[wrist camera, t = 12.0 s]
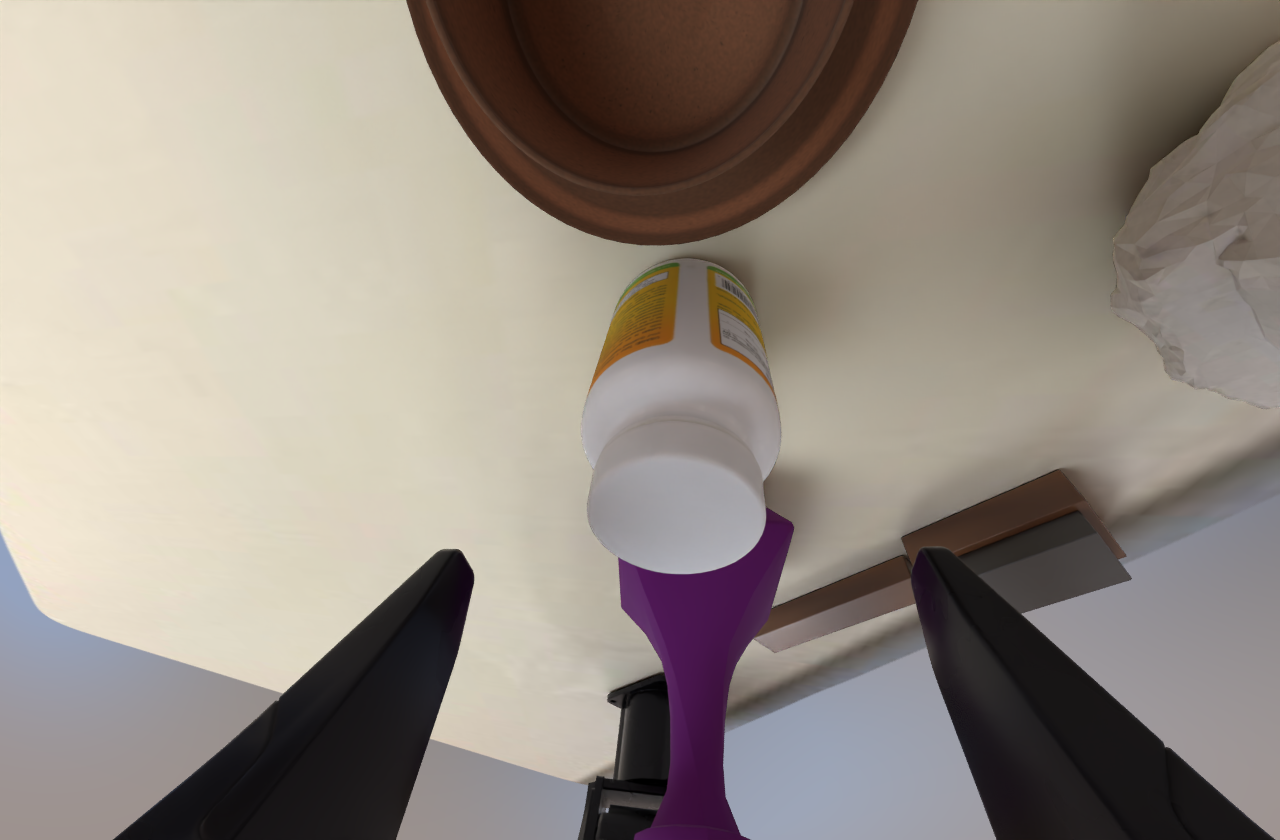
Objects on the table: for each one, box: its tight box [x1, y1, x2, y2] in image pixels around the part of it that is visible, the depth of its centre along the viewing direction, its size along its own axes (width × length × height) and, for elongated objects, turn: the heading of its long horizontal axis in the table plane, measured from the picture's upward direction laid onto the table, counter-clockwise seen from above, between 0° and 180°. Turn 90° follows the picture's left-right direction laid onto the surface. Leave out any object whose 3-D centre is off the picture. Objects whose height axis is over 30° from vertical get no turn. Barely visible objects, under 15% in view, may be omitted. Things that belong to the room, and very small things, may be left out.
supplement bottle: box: [581, 258, 781, 574], centre depth 14 cm, size 5×5×10 cm
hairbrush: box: [753, 470, 1132, 653], centre depth 25 cm, size 18×5×3 cm, turn 137°
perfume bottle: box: [618, 508, 794, 840], centre depth 18 cm, size 8×8×18 cm
